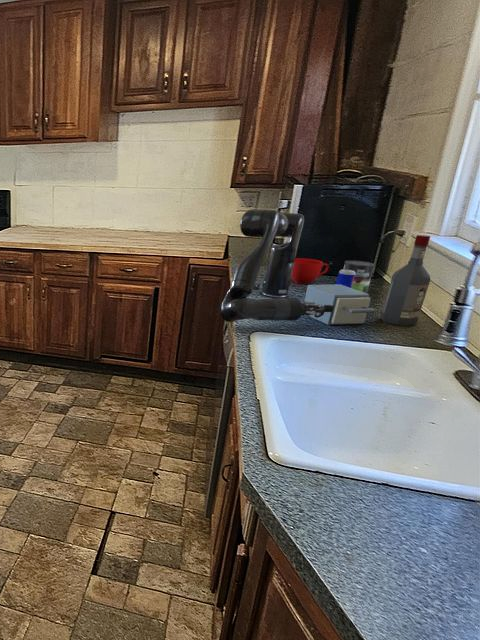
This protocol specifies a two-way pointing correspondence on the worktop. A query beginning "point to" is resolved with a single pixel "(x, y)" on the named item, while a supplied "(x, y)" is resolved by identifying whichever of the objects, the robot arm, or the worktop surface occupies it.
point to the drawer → (350, 310)
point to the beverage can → (346, 277)
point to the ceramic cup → (307, 270)
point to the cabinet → (330, 298)
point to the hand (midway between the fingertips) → (331, 308)
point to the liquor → (408, 288)
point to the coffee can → (360, 274)
